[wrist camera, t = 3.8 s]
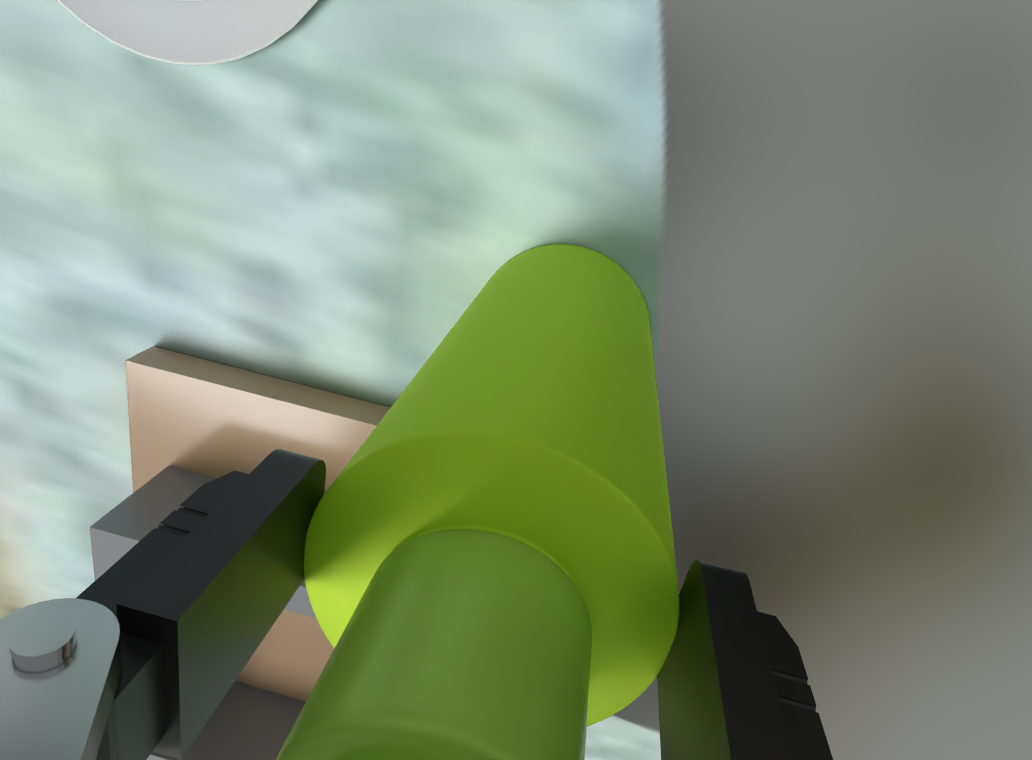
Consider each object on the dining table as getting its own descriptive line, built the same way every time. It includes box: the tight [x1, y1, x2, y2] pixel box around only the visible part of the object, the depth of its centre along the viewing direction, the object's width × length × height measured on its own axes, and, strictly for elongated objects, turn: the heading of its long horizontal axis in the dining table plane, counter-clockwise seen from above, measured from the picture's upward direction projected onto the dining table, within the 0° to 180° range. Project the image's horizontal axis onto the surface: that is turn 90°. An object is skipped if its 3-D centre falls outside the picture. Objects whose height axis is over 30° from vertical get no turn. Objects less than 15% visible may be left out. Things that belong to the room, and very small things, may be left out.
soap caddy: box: [90, 346, 391, 760], centre depth 26 cm, size 20×14×6 cm
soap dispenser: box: [276, 244, 679, 760], centre depth 13 cm, size 6×7×20 cm
